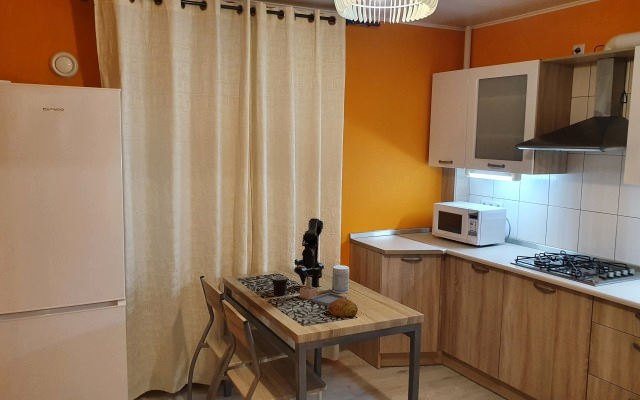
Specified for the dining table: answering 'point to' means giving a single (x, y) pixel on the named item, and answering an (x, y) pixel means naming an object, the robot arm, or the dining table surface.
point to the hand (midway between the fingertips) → (308, 283)
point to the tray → (326, 298)
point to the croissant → (343, 307)
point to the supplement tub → (340, 279)
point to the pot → (308, 293)
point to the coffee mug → (279, 285)
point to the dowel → (308, 283)
